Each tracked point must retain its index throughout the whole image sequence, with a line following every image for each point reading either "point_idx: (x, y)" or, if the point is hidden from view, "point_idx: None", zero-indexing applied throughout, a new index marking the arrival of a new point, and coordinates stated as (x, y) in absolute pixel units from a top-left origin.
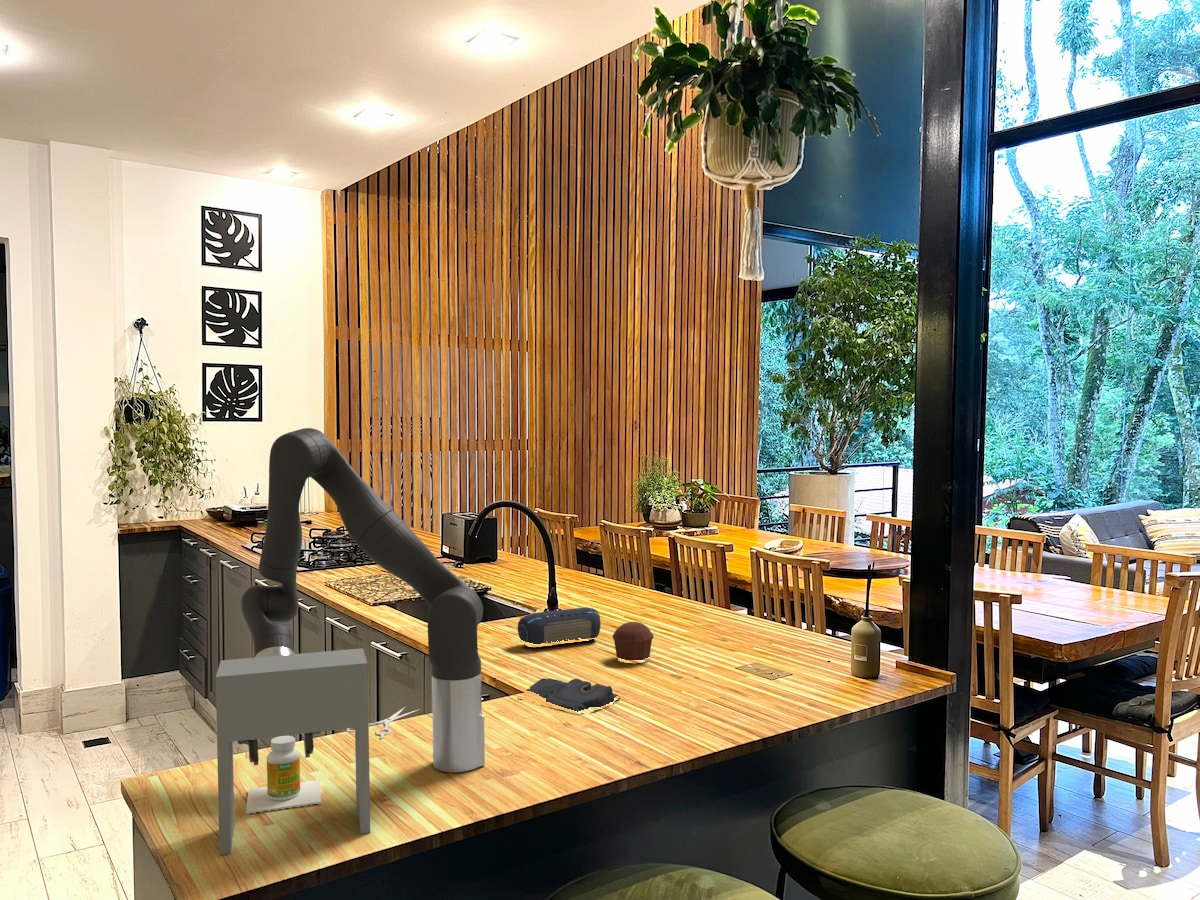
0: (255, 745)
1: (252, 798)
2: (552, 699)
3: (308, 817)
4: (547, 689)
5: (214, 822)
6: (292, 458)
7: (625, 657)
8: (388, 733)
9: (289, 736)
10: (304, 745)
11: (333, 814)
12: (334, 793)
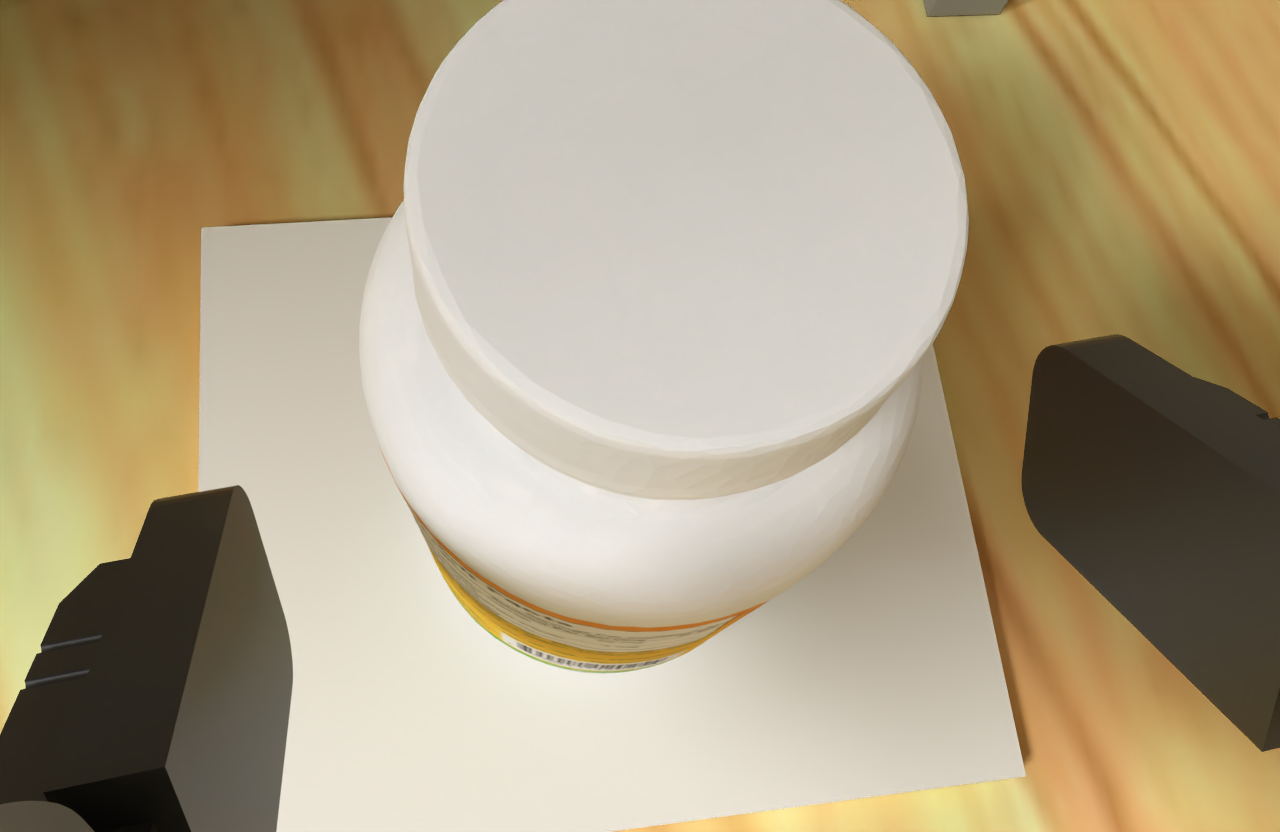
0: (1266, 444)
1: (916, 494)
2: None
3: (333, 6)
4: None
5: (1110, 127)
6: None
7: None
8: None
9: (553, 345)
10: (262, 801)
11: (108, 2)
12: (52, 480)
